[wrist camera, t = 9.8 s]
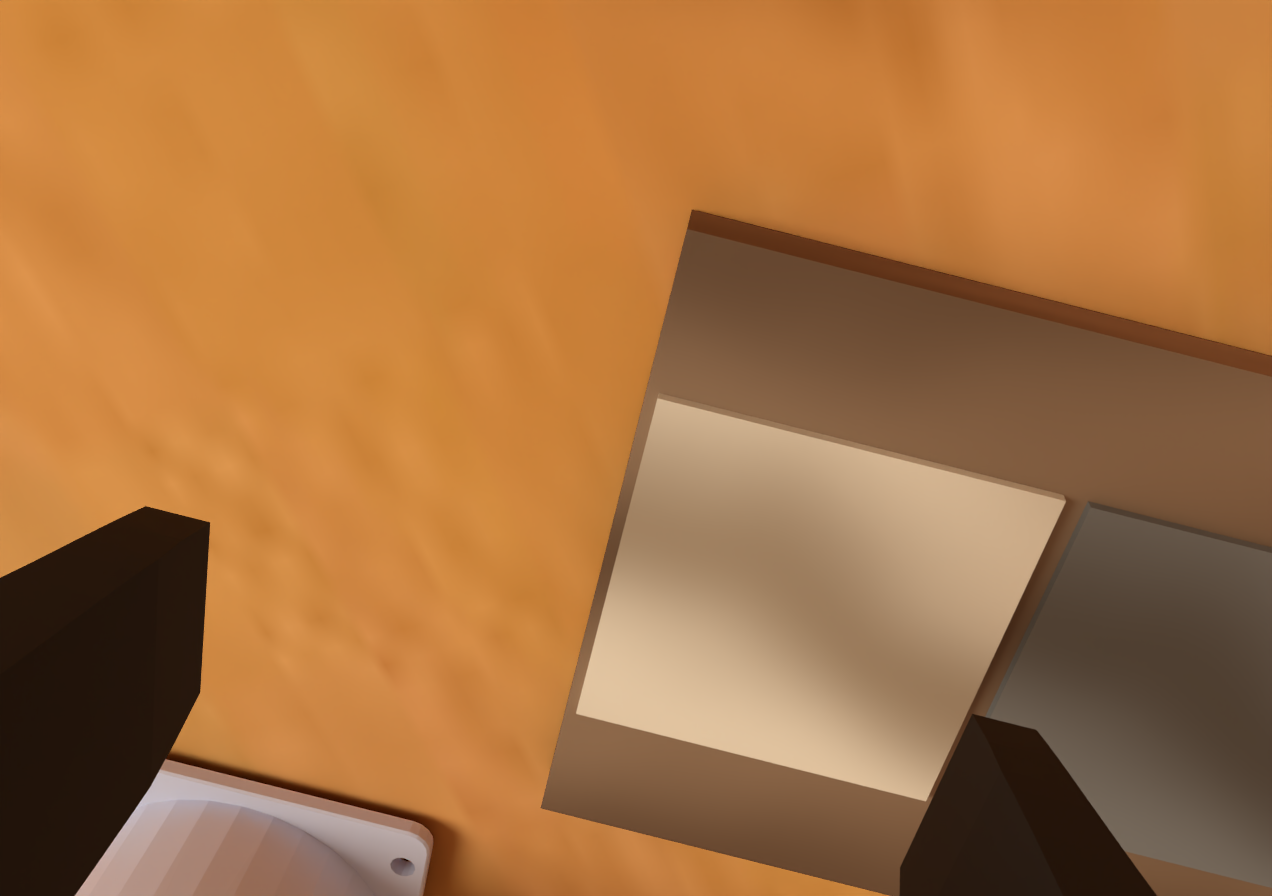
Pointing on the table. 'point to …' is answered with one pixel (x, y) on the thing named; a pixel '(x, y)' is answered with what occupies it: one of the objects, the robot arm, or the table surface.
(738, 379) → the board
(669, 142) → the table surface
